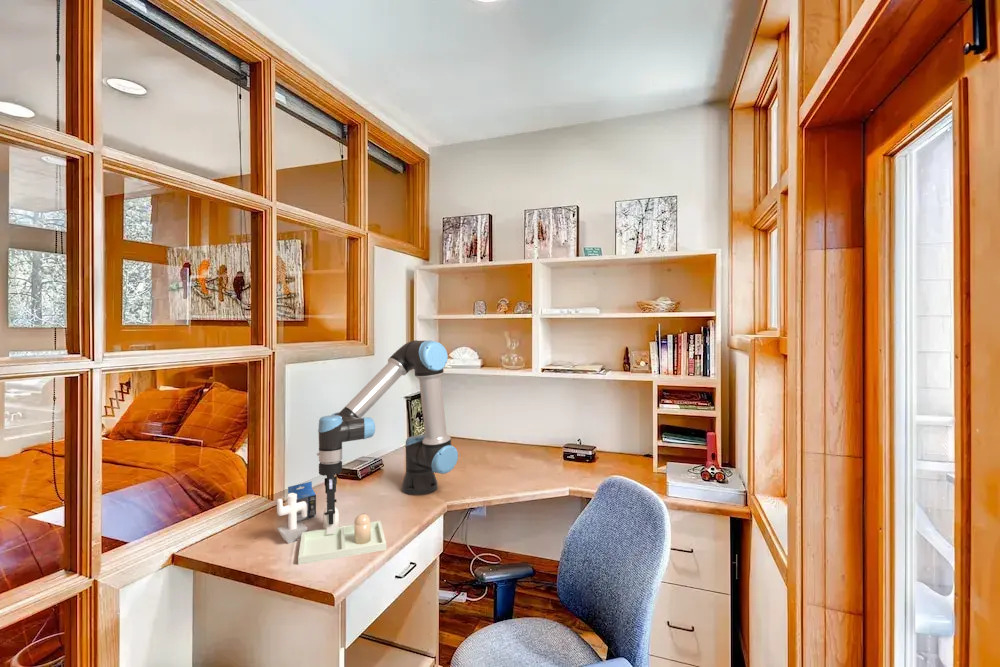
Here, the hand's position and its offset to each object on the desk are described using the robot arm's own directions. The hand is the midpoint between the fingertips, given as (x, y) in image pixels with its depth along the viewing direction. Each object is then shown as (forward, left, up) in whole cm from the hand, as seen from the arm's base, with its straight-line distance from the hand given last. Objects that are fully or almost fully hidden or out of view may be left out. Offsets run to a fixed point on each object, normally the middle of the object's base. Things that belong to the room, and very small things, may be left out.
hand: (330, 527), depth 157 cm
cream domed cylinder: (0, -1, -2) cm, 2 cm away
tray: (-4, +13, -2) cm, 13 cm away
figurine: (+12, +1, -2) cm, 12 cm away
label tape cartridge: (+10, -16, -2) cm, 19 cm away
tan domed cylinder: (-10, +13, -1) cm, 16 cm away
